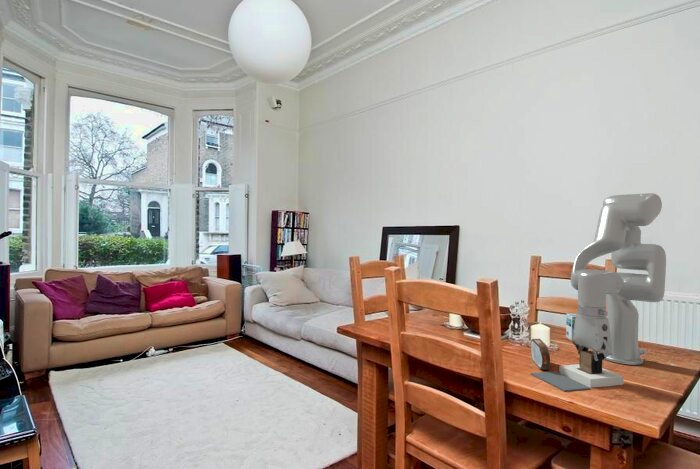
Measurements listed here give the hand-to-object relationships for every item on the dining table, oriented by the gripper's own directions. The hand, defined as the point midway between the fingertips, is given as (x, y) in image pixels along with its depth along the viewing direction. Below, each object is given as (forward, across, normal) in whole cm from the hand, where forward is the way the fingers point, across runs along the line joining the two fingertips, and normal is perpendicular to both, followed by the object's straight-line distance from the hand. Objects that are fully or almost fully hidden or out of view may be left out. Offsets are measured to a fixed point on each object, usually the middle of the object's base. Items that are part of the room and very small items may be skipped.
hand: (590, 369), depth 122 cm
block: (+3, 0, 0) cm, 3 cm away
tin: (+3, +14, +7) cm, 16 cm away
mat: (+3, 0, +12) cm, 12 cm away
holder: (+3, 0, 0) cm, 3 cm away
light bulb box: (+3, +40, -36) cm, 54 cm away
